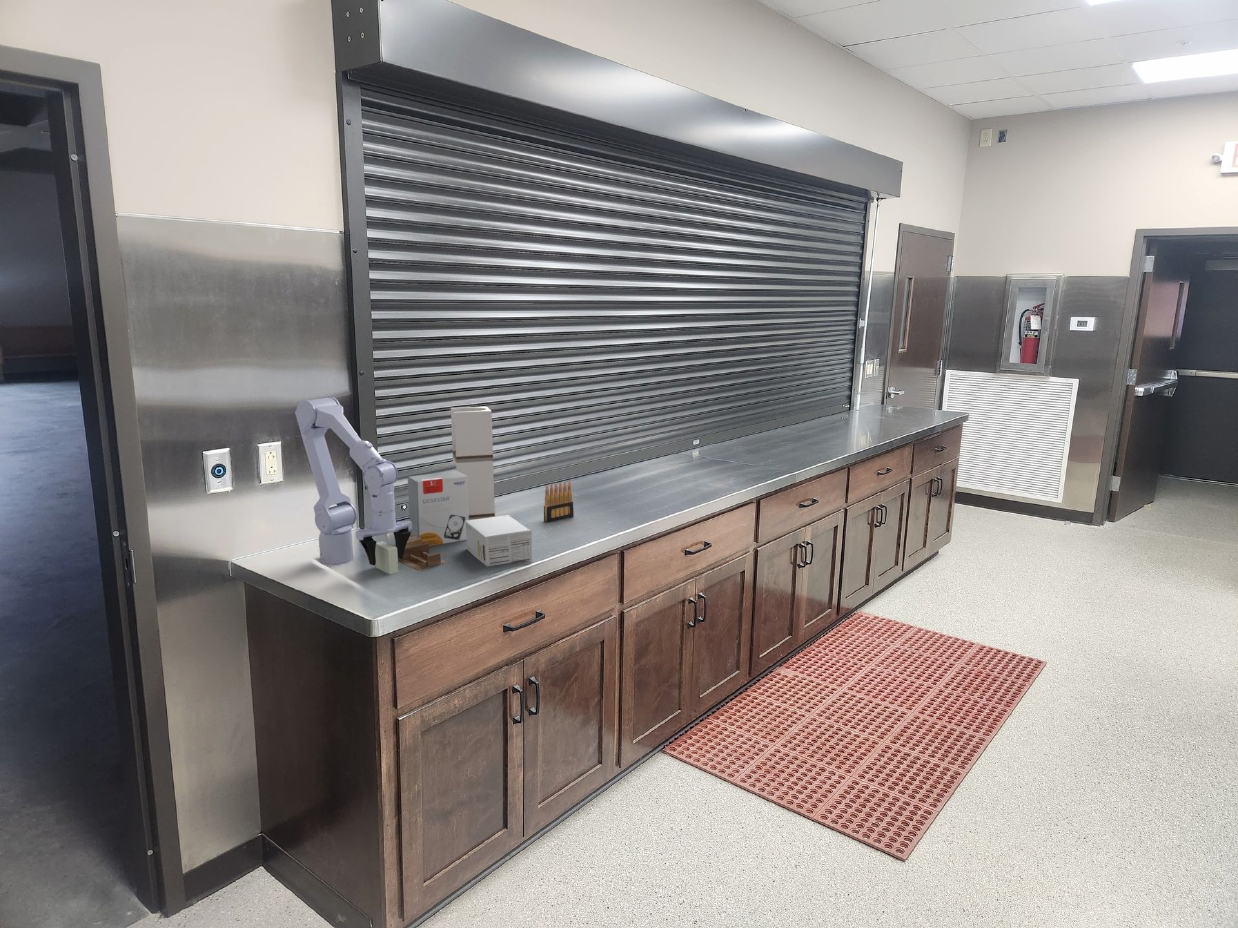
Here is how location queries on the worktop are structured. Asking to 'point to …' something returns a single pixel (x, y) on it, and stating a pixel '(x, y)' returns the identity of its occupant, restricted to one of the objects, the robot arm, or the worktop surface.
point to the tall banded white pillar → (475, 457)
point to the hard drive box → (438, 507)
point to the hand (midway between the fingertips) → (386, 560)
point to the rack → (420, 557)
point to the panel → (386, 557)
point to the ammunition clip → (558, 503)
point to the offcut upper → (413, 542)
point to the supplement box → (499, 540)
